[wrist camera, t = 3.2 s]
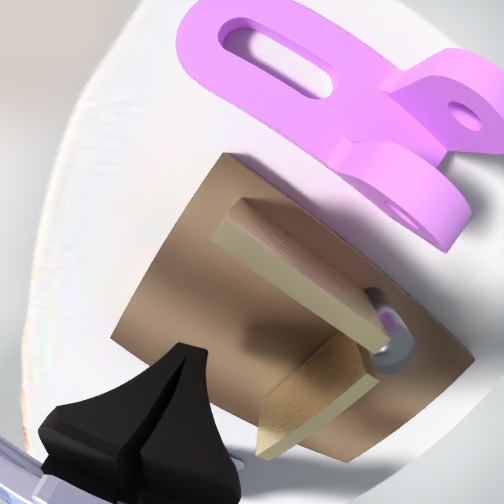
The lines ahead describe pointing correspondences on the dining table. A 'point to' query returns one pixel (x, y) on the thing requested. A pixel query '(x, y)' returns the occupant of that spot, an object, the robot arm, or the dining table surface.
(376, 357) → the fixed leaf
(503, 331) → the dining table surface
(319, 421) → the swing leaf
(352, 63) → the bracket
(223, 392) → the walnut board
